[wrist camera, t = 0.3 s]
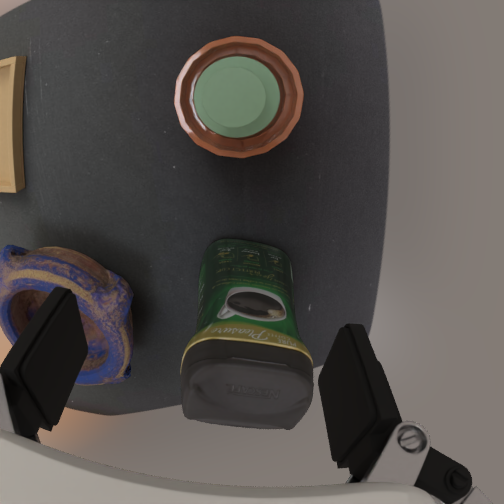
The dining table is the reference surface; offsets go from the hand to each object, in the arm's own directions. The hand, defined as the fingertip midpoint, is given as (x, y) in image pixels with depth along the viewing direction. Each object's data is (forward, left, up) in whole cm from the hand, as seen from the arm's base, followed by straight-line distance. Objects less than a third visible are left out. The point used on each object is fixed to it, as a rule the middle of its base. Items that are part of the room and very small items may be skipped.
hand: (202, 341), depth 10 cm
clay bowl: (-7, 0, -22) cm, 23 cm away
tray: (-4, -30, -22) cm, 38 cm away
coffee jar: (+11, +3, -22) cm, 25 cm away
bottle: (-7, 0, -21) cm, 23 cm away
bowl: (+17, -17, -22) cm, 33 cm away
